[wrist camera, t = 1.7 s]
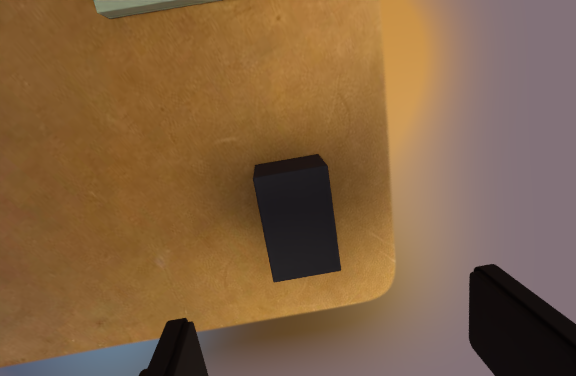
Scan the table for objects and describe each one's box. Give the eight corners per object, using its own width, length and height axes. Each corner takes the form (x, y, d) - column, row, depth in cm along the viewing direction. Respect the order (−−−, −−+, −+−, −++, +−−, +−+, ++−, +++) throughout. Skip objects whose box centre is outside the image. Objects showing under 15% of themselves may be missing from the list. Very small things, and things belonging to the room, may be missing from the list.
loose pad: (254, 164, 25) (252, 177, 22) (318, 153, 25) (327, 165, 22) (272, 256, 28) (273, 282, 24) (331, 246, 28) (341, 271, 24)
